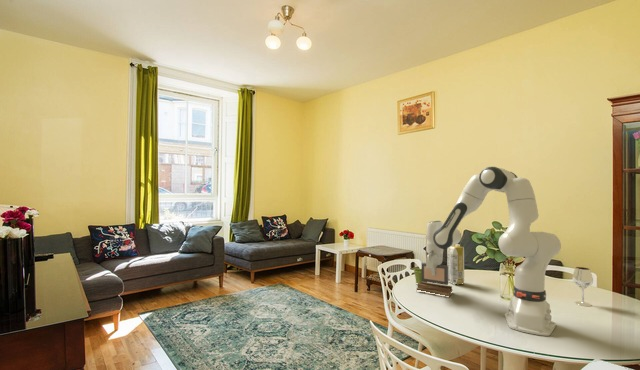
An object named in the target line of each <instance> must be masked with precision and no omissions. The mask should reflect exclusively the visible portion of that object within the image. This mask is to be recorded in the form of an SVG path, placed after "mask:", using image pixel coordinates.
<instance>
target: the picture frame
mask: <svg viewBox="0 0 640 370" xmlns="http://www.w3.org/2000/svg"><path fill="white" fill-rule="evenodd" d="M426 264H427V262H422V263H421V269H422V281H425V282H428V283H434V284H440V285H447V286H449V282H448V266H447V265H446V264H445V265H443V264H440V265H437V267H436V268H435V272H436V274H435V275H432V272H431V269H427V267H426Z"/></svg>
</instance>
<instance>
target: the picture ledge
mask: <svg viewBox="0 0 640 370" xmlns="http://www.w3.org/2000/svg"><path fill="white" fill-rule="evenodd" d="M417 290H421V291H426V292H430V293H435V294H440V295H445V296H449V295H450V294H451V292H452V291H453V286H452V285H443V284H437V283H431V282H422V281H421V282H420V284H418V285H417V287H416V291H417ZM451 295H452V294H451ZM451 295H450V296H451ZM450 296H449V297H450Z"/></svg>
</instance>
